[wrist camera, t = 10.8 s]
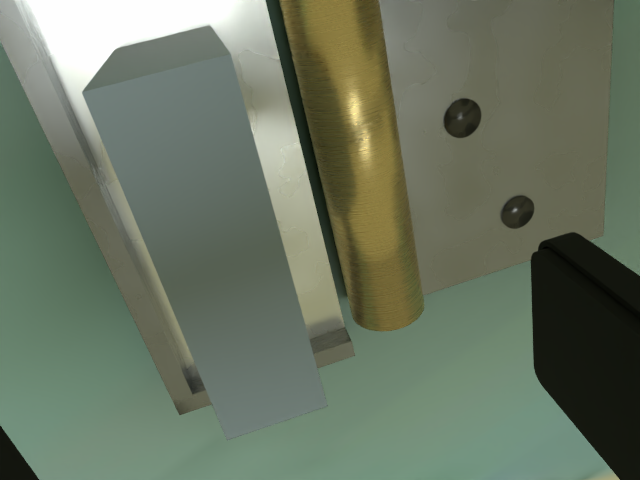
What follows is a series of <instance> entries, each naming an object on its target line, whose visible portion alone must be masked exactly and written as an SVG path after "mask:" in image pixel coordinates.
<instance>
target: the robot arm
mask: <svg viewBox="0 0 640 480" xmlns="http://www.w3.org/2000/svg"><path fill="white" fill-rule="evenodd" d="M531 282H532V318H533V355H534V369H535V373H536V375H537V378H538V380H539V382H540V383H541V385H542V386H543V387H544V389H545V390H546V391H547V392H548V393H549V395H550V396H551V397H552V398H553V399H554V401H555V402H556V403H557V404H558V405H559V407H560V408H561V409H562V410H563V411H564V413H565V414H566V415H567V416H568V417H569V419H570V420H571V421H572V422H573V423H574V425H575V426H576V427H577V428H578V429H579V431H580V432H581V433H582V434H583V436H584V437H585V438H586V439H587V440H588V442H589V443H590V444H591V445H592V446H593V448H594V449H595V450H596V451H597V452H598V454H599V455H600V456H601V457H602V458H603V460H604V461H605V462H606V463H607V464H608V466H609V467H610V468H611V469H612V470H613V472H614V473H615V474H616V475H617V476H618V478H619V479H620V480H640V276H639V275H637V274H636V273H635V272H633V271H632V270H630V269H629V268H627V267H626V266H625V265H623V264H622V263H620V262H619V261H617V260H616V259H614V258H613V257H612V256H610V255H609V254H607V253H606V252H604V251H603V250H602V249H600V248H599V247H597V246H596V245H594V244H593V243H591V242H590V241H589V240H587V239H586V238H584V237H583V236H581V235H580V234H578V233H576V232H570V233H567V234H563V235H560V236H557V237H554V238H550V239H547V240H544V241H542V242H541V243H540V244H539V246H538V251H536V252H534V253H533V254H532V256H531ZM0 480H39V479H38V477H37V476H36V475H35V473H34V472H33V470H32V469H31V468H30V466H29V465H28V463H27V462H26V461H25V459H24V458H23V457H22V455H21V454H20V452H19V451H18V450H17V448H16V447H15V445H14V444H13V443H12V441H11V440H10V438H9V437H8V436H7V434H6V433H5V431H4V430H3V429H2V427H1V426H0Z"/></svg>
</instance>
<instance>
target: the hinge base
mask: <svg viewBox="0 0 640 480" xmlns="http://www.w3.org/2000/svg"><path fill="white" fill-rule="evenodd" d="M279 3H280V7H281V11H282V16H283V20H284V24H285V28H286V33H287V37H288V41H289V46H290V50H291V54H292V59H293V63H294V67H295V72H296V76H297V80H298V84H299V89H300V93H301V97H302V102H303V106H304V110H305V115H306V119H307V123H308V128H309V132H310V136H311V140H312V145H313V149H314V153H315V158H316V162H317V166H318V171H319V175H320V179H321V184H322V188H323V192H324V196H325V201H326V205H327V209H328V214H329V218H330V222H331V227H332V231H333V235H334V240H335V244H336V248H337V252H338V257H339V261H340V265H341V270H342V274H343V278H344V283H345V287H346V291H347V296H348V300H349V304H350V308H351V313H352V317H353V319H354V321H355V322H356V323H357V324H358V325H360V326H361V327H363V328H366V329H369V330H373V331H391V330H396V329H400V328H402V327H405V326H407V325H409V324H411V323H412V322H414V321H415V320H416V319H417V318H418V317H419V316H420V315H421V314H422V312H423V309H424V299H423V295H426V294H429V293H432V292H435V291H438V290H441V289H444V288H447V287H450V286H453V285H456V284H459V283H462V282H466V281H469V280H472V279H475V278H478V277H481V276H484V275H487V274H490V273H493V272H496V271H499V270H502V269H505V268H508V267H511V266H514V265H517V264H520V263H523V262H526V261H529V260H531V256H532V254H533V253H534V252H536V251H538V246H539V244H540V243H541V242H542V241H544V240H547V239H550V238H554V237H557V236H560V235H563V234H567V233H570V232H576V233H578V234H580V235H581V236H583V237H584V238H586V239H587V240H592V239H595V238H598V237H601V236H603V232H604V210H605V188H606V165H607V143H608V121H609V99H610V77H611V55H612V33H613V11H614V0H279ZM208 25H211V27H212V28H213V29H214V31H215V32H216V34H217V35H218V37H219V38H220V39H221V41H222V42H223V44H224V45H225V46H226V48H227V49H228V51H229V52H230V54H231V57H232V60H233V64H234V68H235V71H236V75H237V78H238V82H239V86H240V89H241V93H242V97H243V100H244V104H245V107H246V111H247V115H248V118H249V122H250V126H251V129H252V133H253V137H254V140H255V144H256V147H257V151H258V155H259V158H260V162H261V166H262V169H263V173H264V177H265V180H266V184H267V187H268V191H269V195H270V198H271V202H272V206H273V209H274V213H275V216H276V220H277V224H278V227H279V231H280V235H281V238H282V242H283V246H284V249H285V253H286V256H287V260H288V264H289V267H290V271H291V275H292V278H293V282H294V286H295V289H296V293H297V296H298V300H299V304H300V307H301V311H302V315H303V318H304V322H305V325H306V329H307V333H308V336H309V340H310V344H311V347H312V351H313V355H314V358H315V362H316V365H317V368H320V367H323V366H326V365H329V364H332V363H335V362H338V361H340V360H343V359H346V358H349V357H352V356H355V353H354V349H353V345H352V341H351V339H350V337H349V335H348V333H347V331H346V329H345V326H344V321H343V317H342V313H341V309H340V305H339V301H338V297H337V293H336V289H335V284H334V280H333V276H332V272H331V268H330V264H329V260H328V256H327V252H326V247H325V243H324V239H323V235H322V231H321V227H320V223H319V219H318V215H317V210H316V206H315V202H314V198H313V194H312V190H311V186H310V182H309V178H308V174H307V169H306V165H305V161H304V157H303V153H302V149H301V145H300V141H299V137H298V132H297V128H296V124H295V120H294V116H293V112H292V108H291V104H290V100H289V95H288V91H287V87H286V83H285V79H284V75H283V71H282V67H281V63H280V58H279V54H278V50H277V46H276V42H275V38H274V34H273V30H272V26H271V22H270V17H269V13H268V9H267V5H266V1H265V0H0V41H1V43H2V45H3V47H4V49H5V51H6V54H7V56H8V58H9V60H10V62H11V64H12V66H13V68H14V70H15V72H16V74H17V77H18V79H19V81H20V83H21V85H22V87H23V89H24V91H25V93H26V95H27V97H28V100H29V102H30V104H31V106H32V108H33V110H34V112H35V114H36V116H37V118H38V120H39V122H40V125H41V127H42V129H43V131H44V133H45V135H46V137H47V139H48V141H49V143H50V145H51V148H52V150H53V152H54V154H55V156H56V158H57V160H58V162H59V164H60V166H61V168H62V171H63V173H64V175H65V177H66V179H67V181H68V183H69V185H70V187H71V189H72V191H73V193H74V196H75V198H76V200H77V202H78V204H79V206H80V208H81V210H82V212H83V214H84V216H85V219H86V221H87V223H88V225H89V227H90V229H91V231H92V233H93V235H94V237H95V239H96V242H97V244H98V246H99V248H100V250H101V252H102V254H103V256H104V258H105V260H106V262H107V264H108V267H109V269H110V271H111V273H112V275H113V277H114V279H115V281H116V283H117V285H118V287H119V290H120V292H121V294H122V296H123V298H124V300H125V302H126V304H127V306H128V308H129V310H130V313H131V315H132V317H133V319H134V321H135V323H136V325H137V327H138V329H139V331H140V333H141V335H142V338H143V340H144V342H145V344H146V346H147V348H148V350H149V352H150V354H151V356H152V358H153V361H154V363H155V365H156V367H157V369H158V371H159V373H160V375H161V377H162V379H163V381H164V384H165V386H166V388H167V390H168V392H169V394H170V396H171V398H172V400H173V402H174V404H175V406H176V409H177V411H178V413H179V415H182V414H184V413H187V412H190V411H193V410H196V409H199V408H202V407H205V406H208V405H211V404H212V403H211V401H210V398H209V396H208V394H207V391H206V389H205V386H204V384H203V382H202V379H201V377H200V374H199V372H198V370H197V367H196V365H195V362H194V360H193V358H192V355H191V353H190V350H189V348H188V346H187V343H186V341H185V338H184V336H183V334H182V331H181V329H180V326H179V324H178V322H177V319H176V317H175V315H174V312H173V310H172V307H171V305H170V303H169V300H168V298H167V295H166V293H165V291H164V288H163V286H162V283H161V281H160V279H159V276H158V274H157V271H156V269H155V267H154V264H153V262H152V259H151V257H150V255H149V252H148V250H147V247H146V245H145V243H144V240H143V238H142V235H141V233H140V231H139V228H138V226H137V224H136V221H135V219H134V216H133V214H132V212H131V209H130V207H129V204H128V202H127V200H126V197H125V195H124V192H123V190H122V188H121V185H120V183H119V180H118V178H117V176H116V173H115V171H114V168H113V166H112V164H111V161H110V159H109V156H108V154H107V152H106V149H105V147H104V145H103V142H102V140H101V137H100V135H99V133H98V130H97V128H96V125H95V123H94V121H93V118H92V116H91V113H90V111H89V109H88V106H87V104H86V101H85V99H84V97H83V94H82V91H83V90H84V88H85V87H86V86H87V85H88V83H89V82H90V81H91V79H92V78H93V77H94V75H95V74H96V73H97V72H98V70H99V69H100V68H101V66H102V65H103V64H104V62H105V61H106V60H107V59H108V57H109V56H110V55H111V53H112V52H113V51H114V49H115V48H119V47H123V46H127V45H131V44H135V43H139V42H143V41H147V40H151V39H155V38H159V37H163V36H167V35H171V34H175V33H179V32H183V31H188V30H192V29H196V28H200V27H204V26H208Z"/></svg>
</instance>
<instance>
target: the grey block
mask: <svg viewBox="0 0 640 480" xmlns="http://www.w3.org/2000/svg"><path fill="white" fill-rule="evenodd" d="M82 94H83V97H84V99H85V101H86V104H87V106H88V109H89V111H90V113H91V116H92V118H93V121H94V123H95V125H96V128H97V130H98V133H99V135H100V137H101V140H102V142H103V145H104V147H105V149H106V152H107V154H108V156H109V159H110V161H111V164H112V166H113V168H114V171H115V173H116V176H117V178H118V180H119V183H120V185H121V188H122V190H123V192H124V195H125V197H126V200H127V202H128V204H129V207H130V209H131V212H132V214H133V216H134V219H135V221H136V224H137V226H138V228H139V231H140V233H141V235H142V238H143V240H144V243H145V245H146V247H147V250H148V252H149V255H150V257H151V259H152V262H153V264H154V267H155V269H156V271H157V274H158V276H159V279H160V281H161V283H162V286H163V288H164V291H165V293H166V295H167V298H168V300H169V303H170V305H171V307H172V310H173V312H174V315H175V317H176V319H177V322H178V324H179V326H180V329H181V331H182V334H183V336H184V338H185V341H186V343H187V346H188V348H189V350H190V353H191V355H192V358H193V360H194V362H195V365H196V367H197V370H198V372H199V374H200V377H201V379H202V382H203V384H204V386H205V389H206V391H207V394H208V396H209V398H210V401H211V403H212V405H213V408H214V410H215V413H216V415H217V417H218V420H219V422H220V425H221V427H222V429H223V432H224V434H225V437H226V439H227V440H230V439H233V438H236V437H239V436H242V435H245V434H248V433H250V432H253V431H256V430H259V429H262V428H265V427H268V426H271V425H274V424H277V423H280V422H283V421H286V420H289V419H292V418H294V417H297V416H300V415H303V414H306V413H309V412H312V411H315V410H318V409H321V408H324V407H327V406H328V405H327V402H326V398H325V395H324V391H323V387H322V384H321V380H320V376H319V373H318V369H317V365H316V362H315V358H314V355H313V351H312V347H311V344H310V340H309V336H308V333H307V329H306V325H305V322H304V318H303V315H302V311H301V307H300V304H299V300H298V296H297V293H296V289H295V286H294V282H293V278H292V275H291V271H290V267H289V264H288V260H287V256H286V253H285V249H284V246H283V242H282V238H281V235H280V231H279V227H278V224H277V220H276V216H275V213H274V209H273V206H272V202H271V198H270V195H269V191H268V187H267V184H266V180H265V177H264V173H263V169H262V166H261V162H260V158H259V155H258V151H257V147H256V144H255V140H254V137H253V133H252V129H251V126H250V122H249V118H248V115H247V111H246V107H245V104H244V100H243V97H242V93H241V89H240V86H239V82H238V78H237V75H236V71H235V68H234V64H233V60H232V57H231V54H230V52H229V51H228V49H227V48H226V46H225V45H224V44H223V42H222V41H221V39H220V38H219V37H218V35H217V34H216V32H215V31H214V29H213V28H212V27H211V25H208V26H204V27H200V28H196V29H192V30H188V31H183V32H179V33H175V34H171V35H167V36H163V37H159V38H155V39H151V40H147V41H143V42H139V43H135V44H131V45H127V46H123V47H119V48H115V49H114V51H113V52H112V53H111V55H110V56H109V57H108V59H107V60H106V61H105V62H104V64H103V65H102V66H101V68H100V69H99V70H98V72H97V73H96V74H95V75H94V77H93V78H92V79H91V81H90V82H89V83H88V85H87V86H86V87H85V88H84V90H83V91H82Z"/></svg>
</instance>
